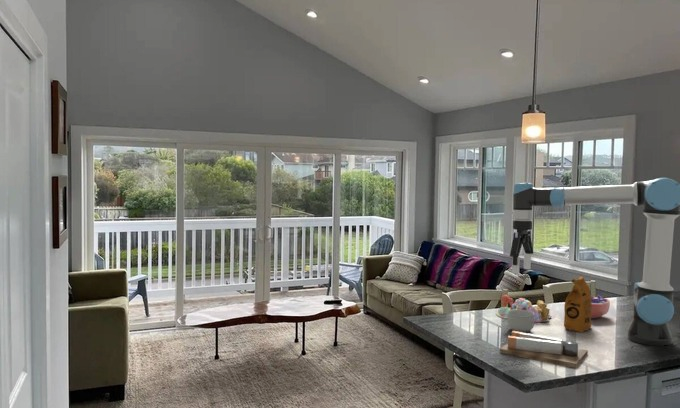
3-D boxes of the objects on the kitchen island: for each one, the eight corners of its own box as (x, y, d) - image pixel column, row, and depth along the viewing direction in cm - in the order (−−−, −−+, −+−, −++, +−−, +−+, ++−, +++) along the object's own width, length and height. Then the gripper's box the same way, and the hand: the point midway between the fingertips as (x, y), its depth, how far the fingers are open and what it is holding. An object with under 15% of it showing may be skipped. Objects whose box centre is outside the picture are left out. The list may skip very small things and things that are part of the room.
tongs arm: (560, 353, 183) (561, 341, 183) (560, 354, 181) (561, 343, 181) (508, 346, 190) (508, 335, 190) (507, 348, 188) (507, 337, 188)
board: (587, 354, 187) (587, 350, 187) (576, 368, 173) (576, 363, 173) (516, 341, 203) (516, 337, 203) (500, 352, 188) (500, 348, 188)
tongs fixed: (579, 354, 183) (579, 342, 182) (575, 357, 179) (576, 345, 178) (513, 341, 197) (513, 330, 197) (508, 344, 193) (509, 333, 193)
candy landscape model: (547, 312, 250) (547, 293, 250) (556, 325, 227) (556, 304, 227) (494, 309, 256) (494, 291, 255) (497, 321, 233) (498, 301, 232)
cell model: (618, 317, 240) (619, 293, 240) (595, 324, 229) (596, 298, 228) (584, 310, 254) (584, 287, 254) (560, 316, 243) (561, 292, 242)
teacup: (535, 335, 211) (536, 316, 210) (508, 333, 213) (508, 314, 213) (530, 326, 224) (530, 308, 224) (504, 324, 226) (504, 306, 226)
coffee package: (559, 328, 221) (560, 278, 220) (571, 323, 229) (572, 274, 229) (583, 333, 214) (584, 281, 213) (594, 328, 222) (595, 277, 221)
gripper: (523, 218, 224) (522, 266, 225) (502, 221, 205) (501, 273, 206) (541, 219, 220) (540, 268, 220) (520, 222, 200) (519, 275, 201)
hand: (521, 271), depth 213 cm, fingers open, 13 cm apart
